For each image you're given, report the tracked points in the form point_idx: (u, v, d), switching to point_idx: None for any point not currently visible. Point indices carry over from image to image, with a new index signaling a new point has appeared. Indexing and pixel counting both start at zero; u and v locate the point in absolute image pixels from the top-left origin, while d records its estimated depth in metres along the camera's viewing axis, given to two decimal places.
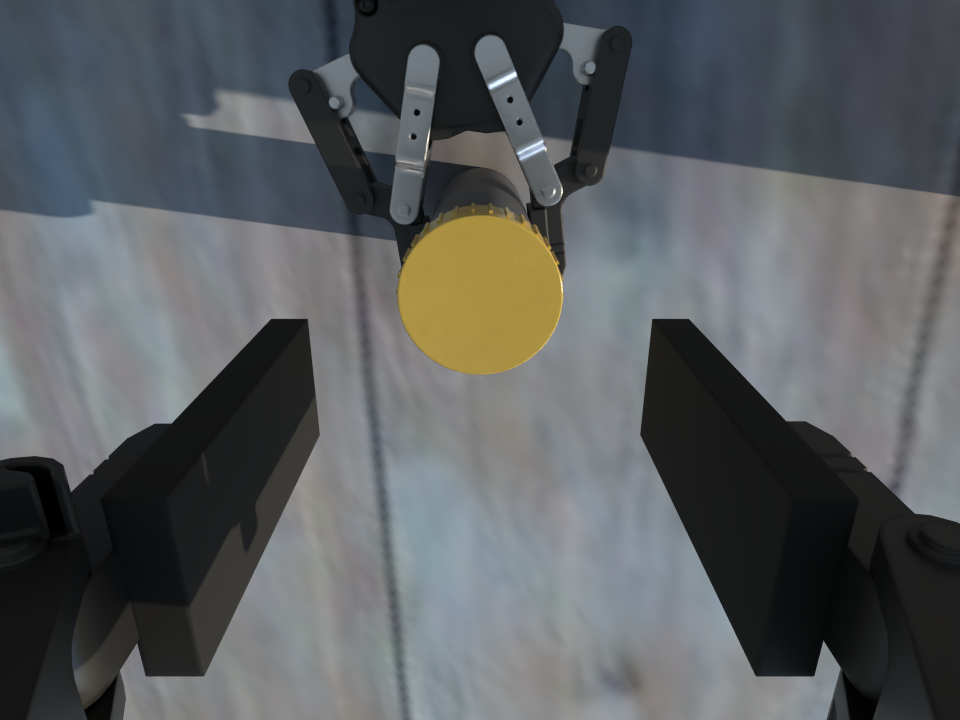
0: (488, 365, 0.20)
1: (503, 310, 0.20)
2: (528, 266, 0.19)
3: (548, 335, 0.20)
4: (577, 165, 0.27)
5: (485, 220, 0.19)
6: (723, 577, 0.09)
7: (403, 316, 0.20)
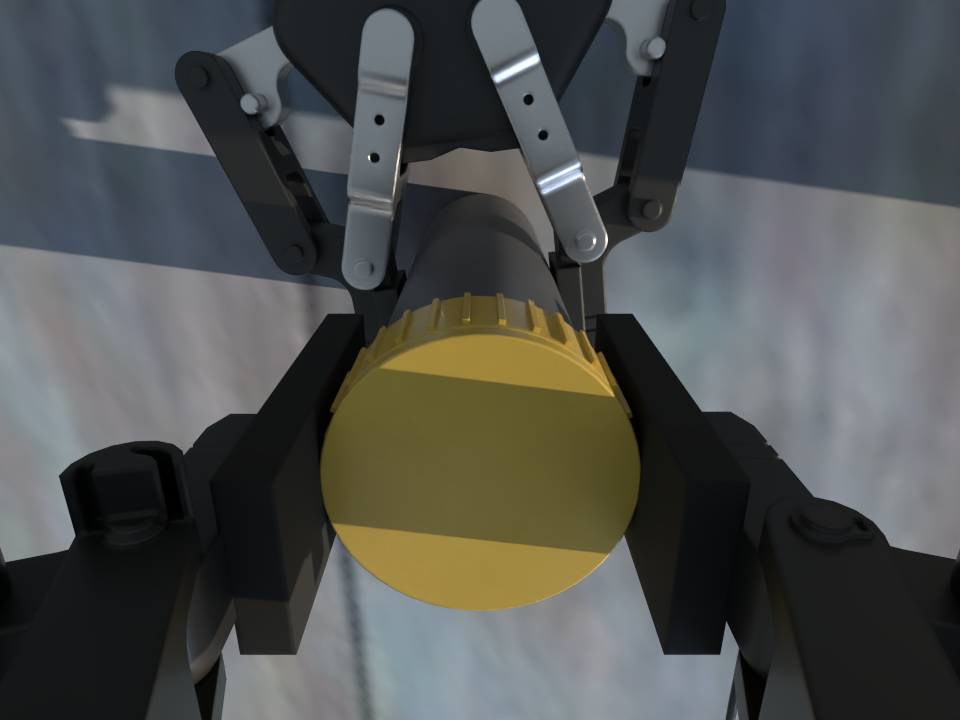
0: (496, 596, 0.11)
1: (524, 506, 0.10)
2: (576, 428, 0.10)
3: (610, 549, 0.10)
4: (631, 201, 0.17)
5: (491, 343, 0.09)
6: (643, 561, 0.10)
7: (332, 516, 0.10)
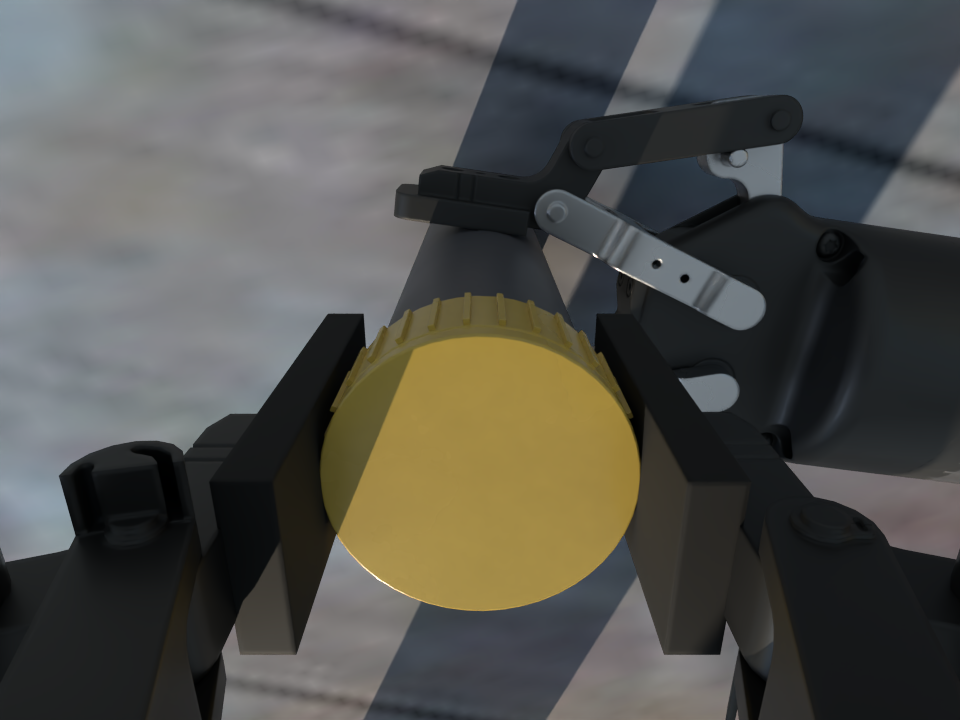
0: (495, 596, 0.11)
1: (524, 506, 0.10)
2: (576, 429, 0.10)
3: (610, 549, 0.10)
4: None
5: (491, 343, 0.09)
6: (643, 561, 0.10)
7: (332, 516, 0.10)
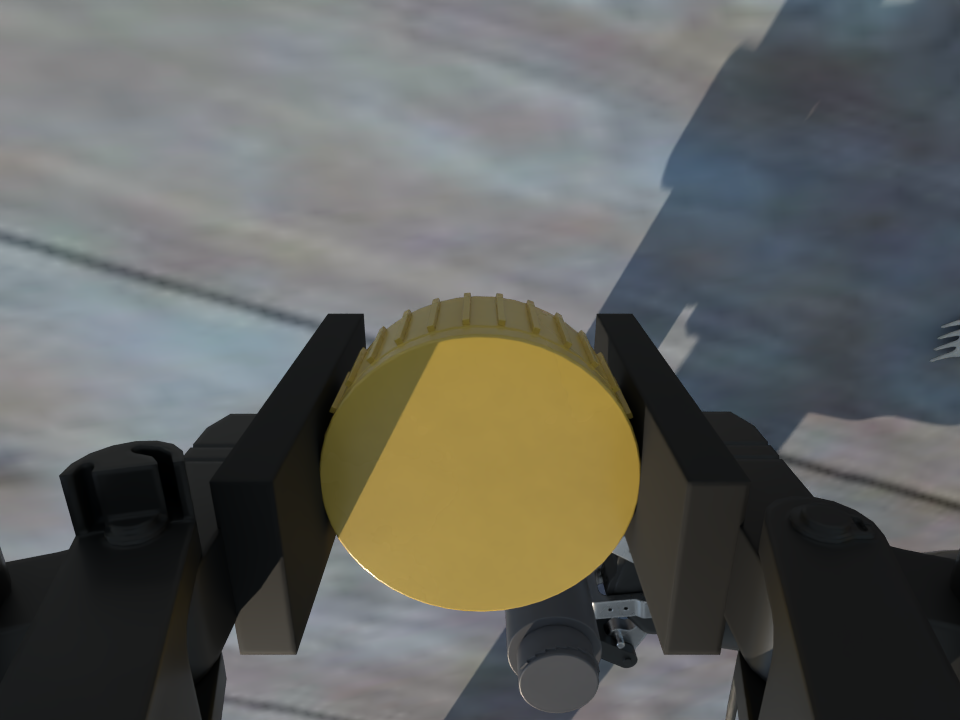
0: (496, 597, 0.11)
1: (524, 507, 0.10)
2: (576, 429, 0.10)
3: (610, 549, 0.10)
4: None
5: (491, 344, 0.09)
6: (643, 561, 0.10)
7: (332, 517, 0.10)
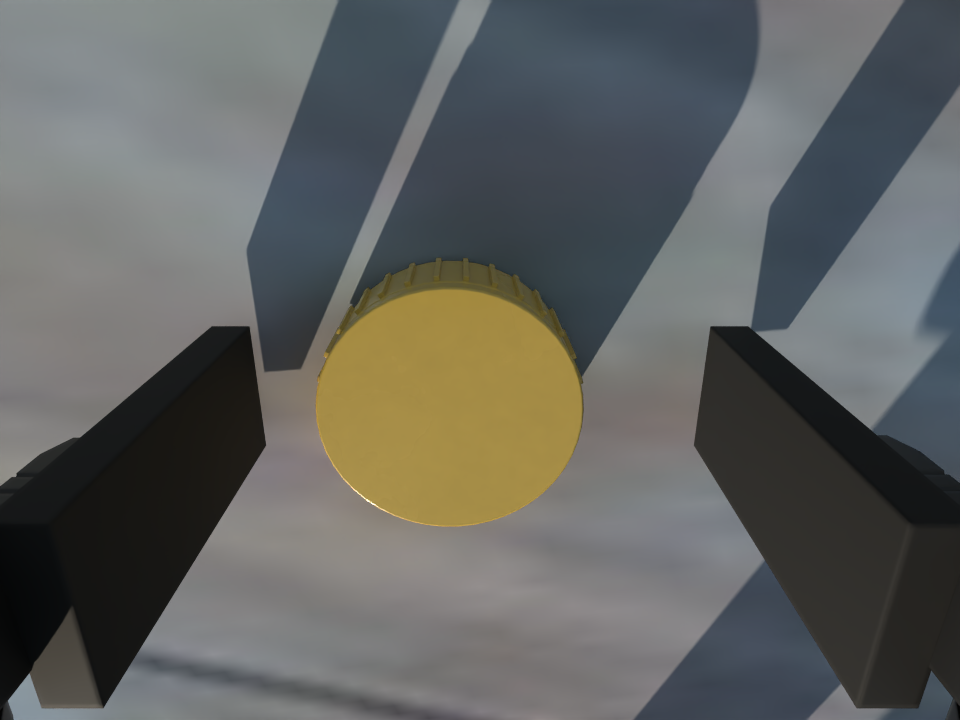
0: (465, 513, 0.13)
1: (487, 434, 0.12)
2: (528, 366, 0.12)
3: (559, 469, 0.13)
4: None
5: (456, 295, 0.11)
6: (810, 600, 0.09)
7: (327, 444, 0.12)
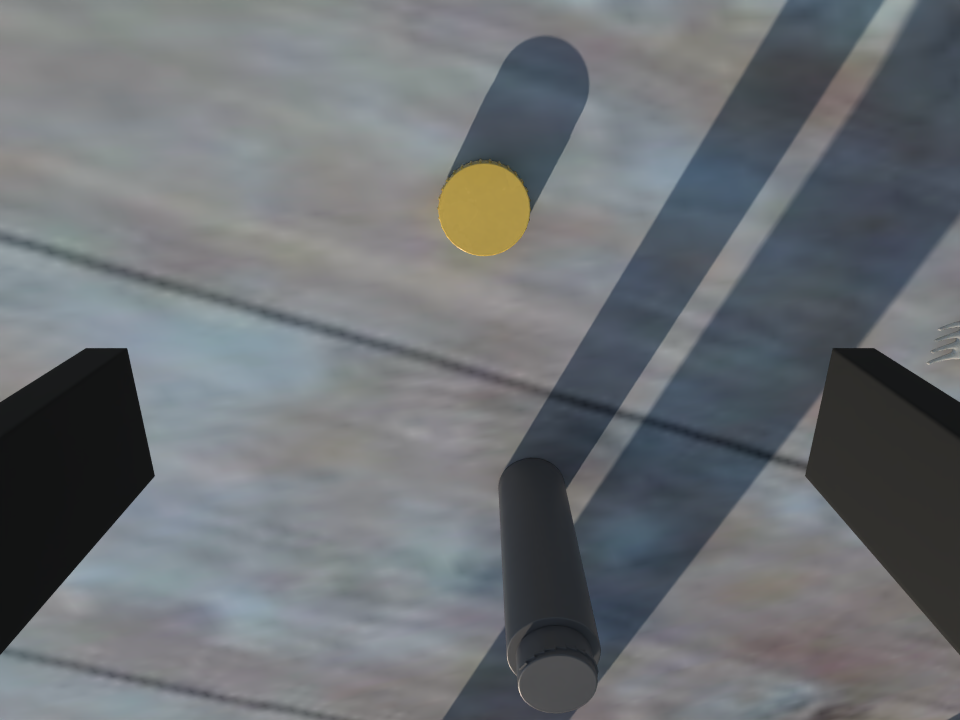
0: (489, 250, 0.36)
1: (497, 217, 0.35)
2: (510, 192, 0.35)
3: (522, 232, 0.36)
4: None
5: (487, 166, 0.35)
6: None
7: (441, 221, 0.35)
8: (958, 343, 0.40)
